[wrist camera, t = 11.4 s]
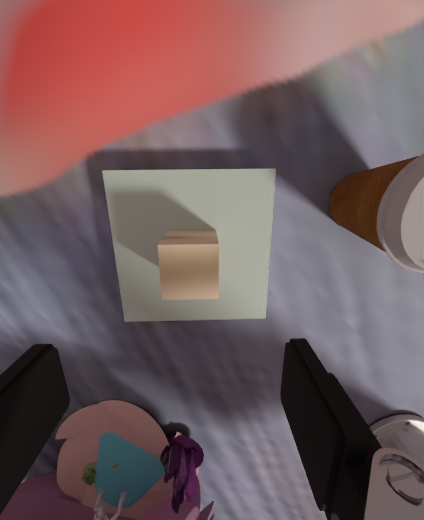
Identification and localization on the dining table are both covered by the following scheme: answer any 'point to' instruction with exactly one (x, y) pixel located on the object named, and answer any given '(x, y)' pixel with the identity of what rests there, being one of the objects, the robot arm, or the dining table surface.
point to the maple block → (189, 265)
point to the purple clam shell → (115, 471)
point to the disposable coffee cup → (386, 209)
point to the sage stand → (192, 218)
